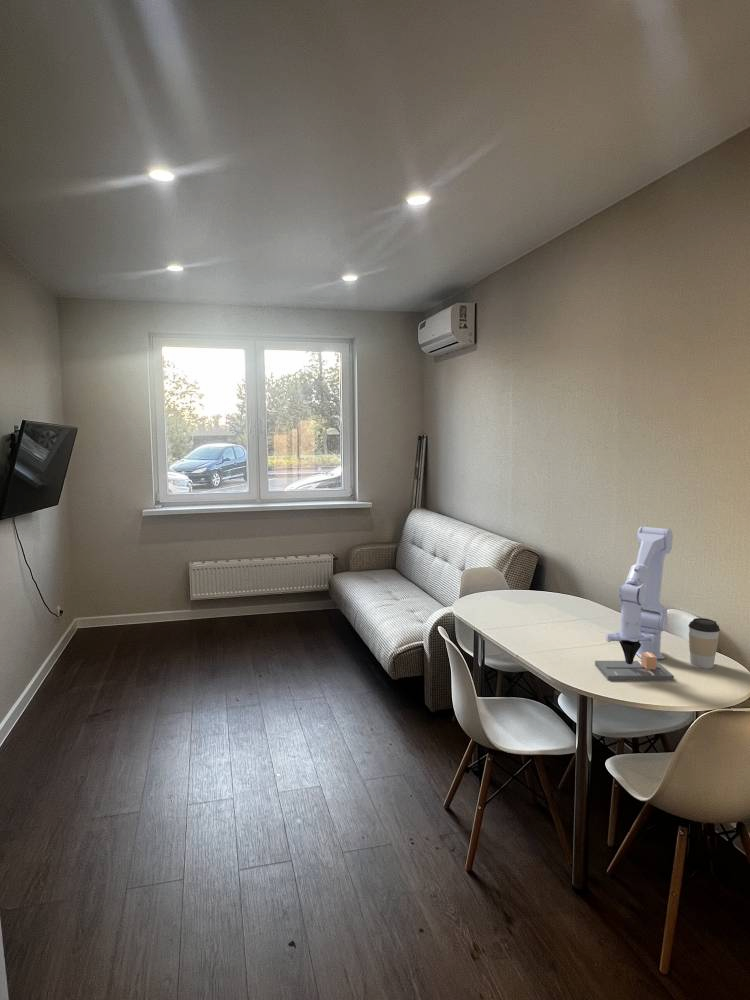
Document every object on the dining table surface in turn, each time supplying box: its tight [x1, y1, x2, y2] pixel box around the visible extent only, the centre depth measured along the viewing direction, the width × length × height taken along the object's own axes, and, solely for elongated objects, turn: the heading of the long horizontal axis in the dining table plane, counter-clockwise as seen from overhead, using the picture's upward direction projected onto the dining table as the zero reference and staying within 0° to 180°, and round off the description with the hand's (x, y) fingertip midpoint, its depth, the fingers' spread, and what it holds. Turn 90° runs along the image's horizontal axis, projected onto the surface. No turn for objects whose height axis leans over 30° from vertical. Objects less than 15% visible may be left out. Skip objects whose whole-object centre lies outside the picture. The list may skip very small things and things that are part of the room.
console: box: [594, 660, 675, 682], centre depth 191 cm, size 12×20×2 cm, turn 88°
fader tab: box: [640, 652, 658, 670], centre depth 190 cm, size 4×3×4 cm
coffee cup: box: [688, 617, 721, 669], centre depth 196 cm, size 9×9×15 cm
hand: (628, 663), depth 190 cm, fingers closed
